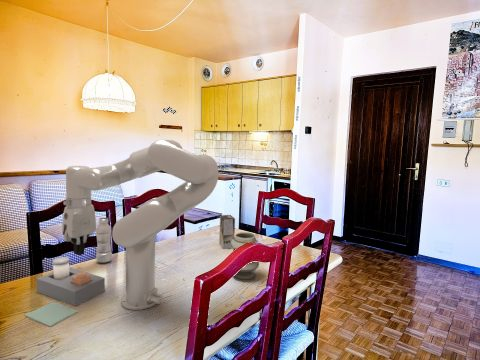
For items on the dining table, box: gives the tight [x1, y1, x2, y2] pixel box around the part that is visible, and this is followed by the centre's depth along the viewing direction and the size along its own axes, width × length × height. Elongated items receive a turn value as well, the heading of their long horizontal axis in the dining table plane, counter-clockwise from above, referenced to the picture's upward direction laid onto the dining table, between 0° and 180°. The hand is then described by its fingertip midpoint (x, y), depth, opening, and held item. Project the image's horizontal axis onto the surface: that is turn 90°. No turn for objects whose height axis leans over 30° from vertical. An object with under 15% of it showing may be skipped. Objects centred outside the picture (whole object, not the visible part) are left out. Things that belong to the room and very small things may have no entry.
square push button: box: [72, 271, 91, 286], centre depth 108 cm, size 4×4×6 cm
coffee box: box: [218, 214, 236, 250], centre depth 165 cm, size 9×6×16 cm
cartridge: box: [52, 256, 70, 280], centre depth 112 cm, size 5×5×11 cm
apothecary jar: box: [231, 231, 260, 282], centre depth 128 cm, size 12×12×18 cm
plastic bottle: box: [95, 217, 113, 264], centre depth 137 cm, size 6×7×20 cm
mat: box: [24, 301, 79, 328], centre depth 96 cm, size 12×9×1 cm
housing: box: [35, 266, 106, 307], centre depth 111 cm, size 20×12×5 cm, turn 65°
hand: (79, 253), depth 107 cm, fingers closed
